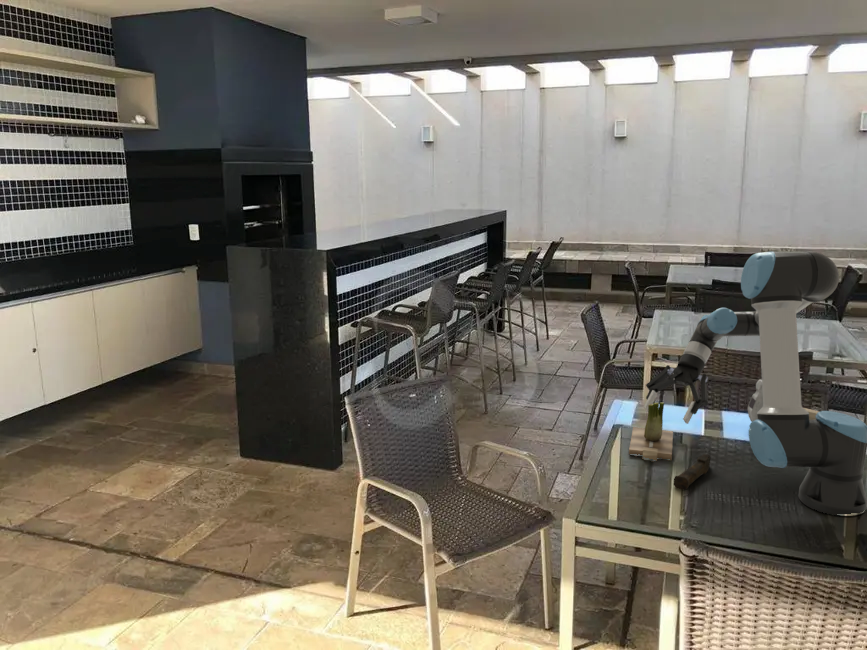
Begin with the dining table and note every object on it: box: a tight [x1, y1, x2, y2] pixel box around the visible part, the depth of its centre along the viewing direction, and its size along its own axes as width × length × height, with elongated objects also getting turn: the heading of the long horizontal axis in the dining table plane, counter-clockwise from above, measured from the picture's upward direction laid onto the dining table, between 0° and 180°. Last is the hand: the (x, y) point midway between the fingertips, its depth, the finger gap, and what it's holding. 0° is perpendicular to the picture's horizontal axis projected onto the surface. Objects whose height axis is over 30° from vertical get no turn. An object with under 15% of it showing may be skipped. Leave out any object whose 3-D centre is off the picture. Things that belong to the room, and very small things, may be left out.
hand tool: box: [673, 453, 711, 491], centre depth 192 cm, size 19×4×5 cm, turn 134°
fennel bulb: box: [644, 401, 665, 441], centre depth 212 cm, size 6×5×12 cm
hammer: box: [747, 378, 820, 422], centre depth 224 cm, size 16×5×30 cm
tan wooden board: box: [628, 426, 674, 462], centre depth 213 cm, size 22×12×3 cm, turn 161°
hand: (665, 415), depth 217 cm, fingers open, 13 cm apart
